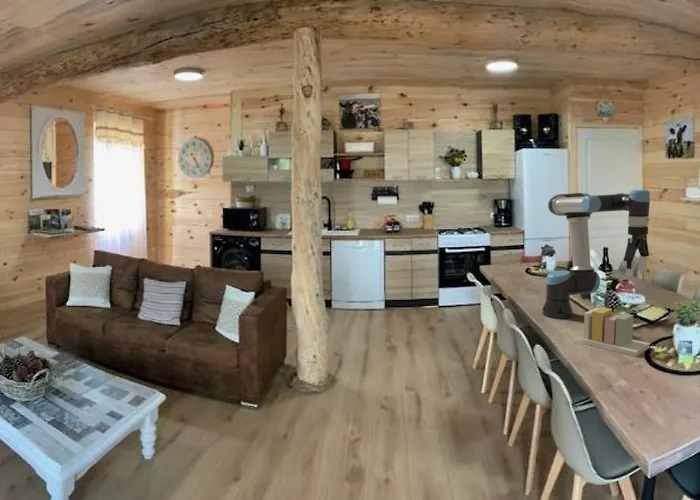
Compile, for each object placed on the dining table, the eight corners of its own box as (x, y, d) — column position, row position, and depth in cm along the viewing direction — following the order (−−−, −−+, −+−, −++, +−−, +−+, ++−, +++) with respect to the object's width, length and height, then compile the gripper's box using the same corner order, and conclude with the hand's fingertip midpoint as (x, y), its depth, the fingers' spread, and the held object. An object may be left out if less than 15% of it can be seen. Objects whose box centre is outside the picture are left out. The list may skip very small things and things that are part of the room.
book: (591, 339, 212) (592, 311, 210) (600, 334, 218) (601, 306, 216) (601, 341, 209) (602, 313, 207) (610, 336, 214) (611, 308, 212)
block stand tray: (582, 343, 213) (583, 313, 211) (597, 335, 222) (598, 306, 219) (635, 356, 196) (637, 324, 194) (649, 347, 204) (651, 316, 202)
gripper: (635, 229, 196) (633, 279, 200) (658, 223, 211) (656, 269, 215) (616, 228, 202) (614, 276, 205) (640, 222, 217) (638, 267, 220)
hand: (635, 273), depth 210 cm, fingers open, 13 cm apart
